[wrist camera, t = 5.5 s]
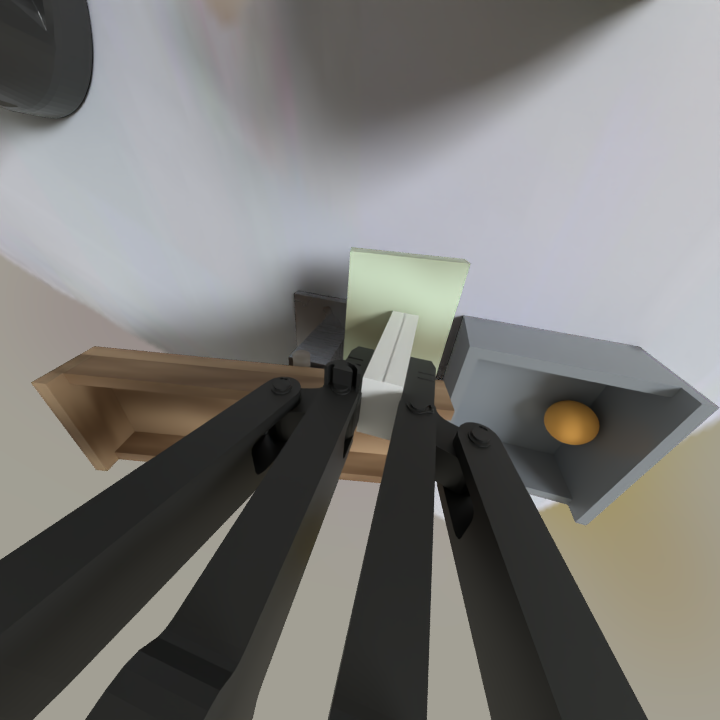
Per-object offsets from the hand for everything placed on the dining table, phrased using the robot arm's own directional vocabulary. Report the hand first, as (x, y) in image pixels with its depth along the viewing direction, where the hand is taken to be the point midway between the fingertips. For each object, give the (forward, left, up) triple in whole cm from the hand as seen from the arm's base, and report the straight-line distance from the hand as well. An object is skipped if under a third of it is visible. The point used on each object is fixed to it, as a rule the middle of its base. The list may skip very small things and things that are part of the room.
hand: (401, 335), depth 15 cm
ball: (+15, +8, -6) cm, 18 cm away
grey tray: (+13, +4, -9) cm, 16 cm away
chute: (-1, -9, -1) cm, 10 cm away
